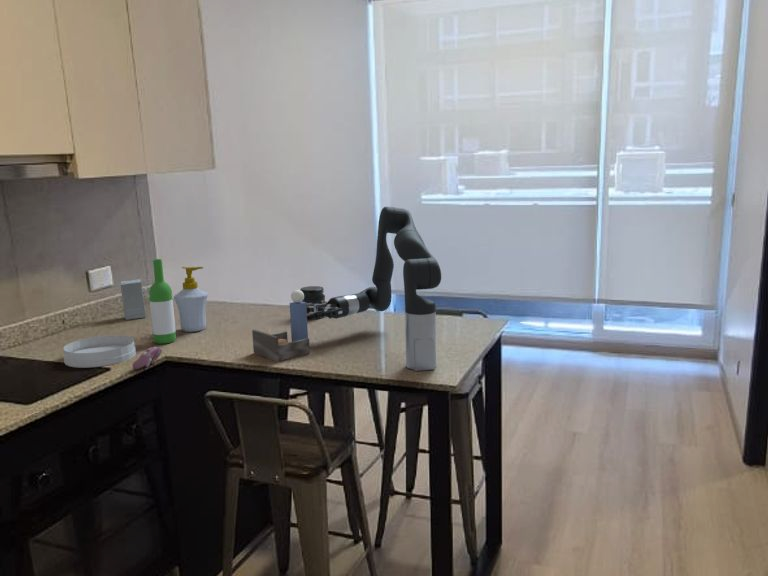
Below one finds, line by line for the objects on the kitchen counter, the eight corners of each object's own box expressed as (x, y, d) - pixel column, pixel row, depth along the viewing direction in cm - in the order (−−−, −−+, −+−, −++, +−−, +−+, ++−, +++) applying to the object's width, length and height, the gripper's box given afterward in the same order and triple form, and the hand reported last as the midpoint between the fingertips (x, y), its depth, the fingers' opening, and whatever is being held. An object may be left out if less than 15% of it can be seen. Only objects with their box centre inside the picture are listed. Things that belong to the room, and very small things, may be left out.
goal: (286, 345, 223) (284, 322, 222) (309, 353, 213) (308, 329, 212) (253, 353, 215) (252, 330, 213) (276, 361, 205) (275, 337, 203)
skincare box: (144, 314, 276) (141, 278, 272) (146, 318, 269) (142, 281, 266) (123, 317, 272) (119, 280, 269) (124, 320, 266) (120, 283, 263)
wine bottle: (151, 345, 228) (142, 261, 222) (157, 339, 235) (149, 258, 230) (173, 344, 228) (165, 260, 223) (178, 338, 236) (171, 257, 230)
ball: (282, 354, 210) (294, 346, 212) (274, 341, 210) (286, 334, 213) (277, 358, 214) (289, 350, 216) (269, 345, 214) (281, 338, 217)
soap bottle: (204, 333, 242) (199, 269, 237) (171, 334, 242) (165, 269, 237) (214, 325, 254) (210, 263, 249) (183, 325, 255) (177, 264, 250)
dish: (72, 352, 223) (70, 338, 222) (139, 346, 228) (138, 332, 227) (57, 371, 201) (55, 356, 200) (131, 364, 207) (130, 349, 206)
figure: (301, 345, 222) (298, 288, 218) (309, 348, 219) (306, 289, 215) (291, 348, 219) (288, 290, 215) (298, 351, 216) (295, 291, 212)
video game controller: (142, 375, 200) (150, 356, 198) (130, 368, 200) (137, 349, 199) (159, 365, 210) (166, 347, 208) (147, 358, 210) (154, 340, 208)
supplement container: (298, 320, 259) (297, 291, 257) (301, 314, 270) (300, 286, 267) (324, 319, 259) (323, 290, 257) (326, 313, 270) (325, 285, 267)
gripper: (330, 293, 234) (294, 300, 223) (355, 298, 224) (318, 306, 213) (331, 313, 236) (295, 321, 225) (356, 319, 225) (319, 328, 214)
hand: (306, 314), depth 219 cm, fingers open, 8 cm apart
